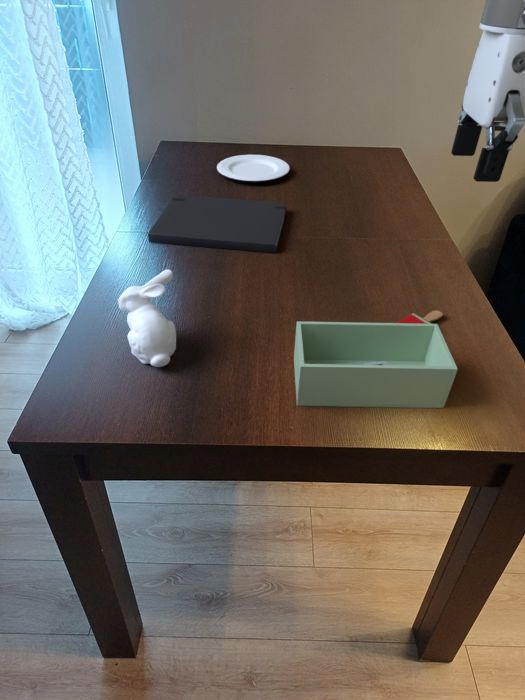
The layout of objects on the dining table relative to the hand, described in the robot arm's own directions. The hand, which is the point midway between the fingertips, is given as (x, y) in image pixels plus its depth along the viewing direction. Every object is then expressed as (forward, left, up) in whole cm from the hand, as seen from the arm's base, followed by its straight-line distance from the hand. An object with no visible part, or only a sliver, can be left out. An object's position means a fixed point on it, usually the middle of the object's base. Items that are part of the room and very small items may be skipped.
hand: (473, 167), depth 67 cm
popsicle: (+1, +2, -28) cm, 29 cm away
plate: (+80, +4, -28) cm, 85 cm away
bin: (-8, +16, -28) cm, 33 cm away
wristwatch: (-8, +16, -28) cm, 33 cm away
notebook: (+50, +22, -28) cm, 62 cm away
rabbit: (+11, +45, -28) cm, 54 cm away
